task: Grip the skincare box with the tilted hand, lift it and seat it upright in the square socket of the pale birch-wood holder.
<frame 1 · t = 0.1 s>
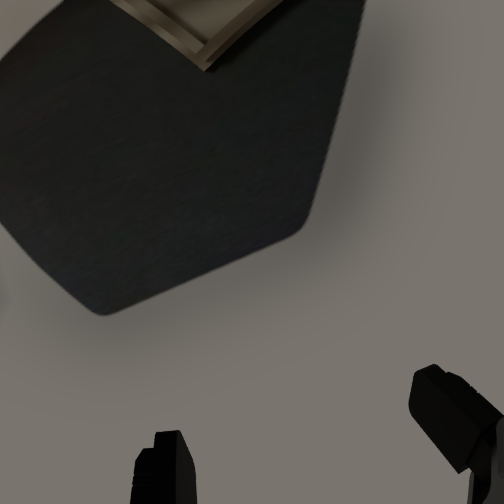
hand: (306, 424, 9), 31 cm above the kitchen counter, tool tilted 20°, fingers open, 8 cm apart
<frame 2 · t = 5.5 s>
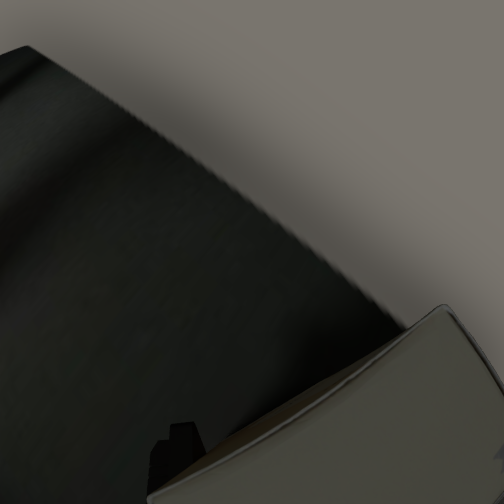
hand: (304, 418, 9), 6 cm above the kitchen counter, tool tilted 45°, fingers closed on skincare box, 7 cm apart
skincare box: (290, 445, 14), on the kitchen counter, touching gripper
when the fingers open (9 cm above the kitchen counter, at t = 11.2 s): skincare box drops 2 cm, resting on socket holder.
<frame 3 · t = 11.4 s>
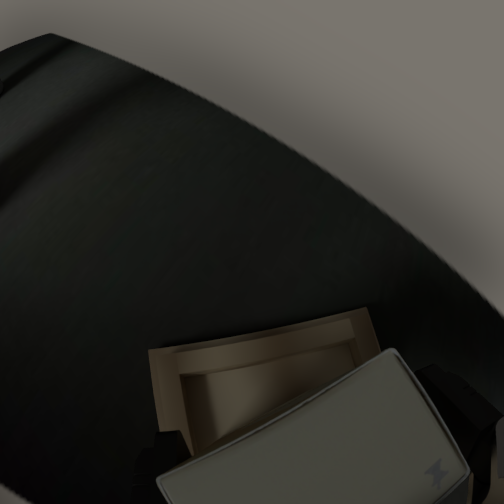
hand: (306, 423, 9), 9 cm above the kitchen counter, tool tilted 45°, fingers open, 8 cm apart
skincare box: (279, 446, 16), point 1 cm above the kitchen counter, touching gripper, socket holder
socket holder: (285, 442, 16), on the kitchen counter
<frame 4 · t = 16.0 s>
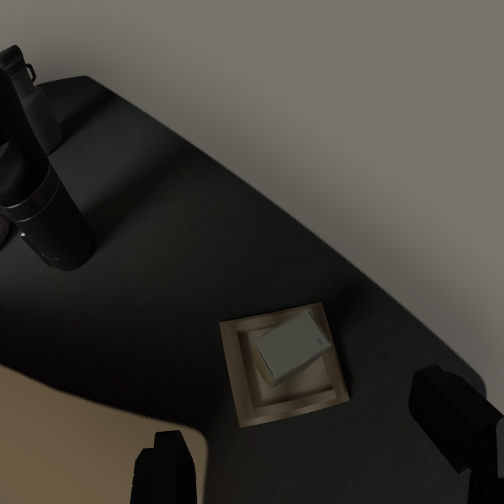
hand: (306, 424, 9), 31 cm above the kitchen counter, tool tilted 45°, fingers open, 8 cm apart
water bottle: (47, 145, 62), on the kitchen counter
skincare box: (280, 364, 39), point 1 cm above the kitchen counter, touching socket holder
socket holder: (283, 364, 39), on the kitchen counter
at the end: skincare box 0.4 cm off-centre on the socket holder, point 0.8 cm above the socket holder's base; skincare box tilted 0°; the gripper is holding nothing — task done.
